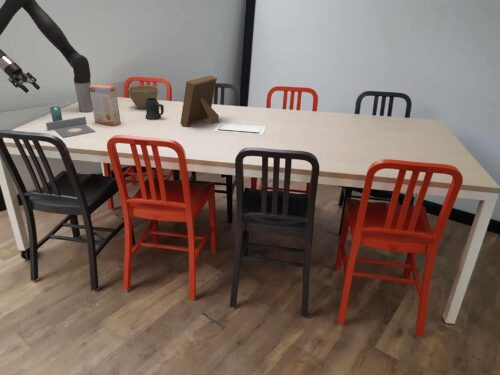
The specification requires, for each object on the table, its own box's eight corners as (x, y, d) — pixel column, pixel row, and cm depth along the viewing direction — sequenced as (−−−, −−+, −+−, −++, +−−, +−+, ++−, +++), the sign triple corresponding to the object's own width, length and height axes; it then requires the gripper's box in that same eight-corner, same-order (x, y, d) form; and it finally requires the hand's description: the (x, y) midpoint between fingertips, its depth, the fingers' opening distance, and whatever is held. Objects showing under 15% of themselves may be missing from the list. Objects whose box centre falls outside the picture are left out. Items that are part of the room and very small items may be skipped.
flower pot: (155, 111, 234) (153, 91, 229) (126, 110, 235) (124, 91, 229) (162, 104, 251) (160, 85, 245) (135, 103, 251) (133, 85, 245)
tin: (61, 121, 212) (58, 105, 208) (64, 123, 208) (61, 107, 204) (52, 123, 209) (48, 107, 205) (54, 125, 205) (51, 109, 201)
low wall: (86, 123, 209) (84, 116, 207) (86, 124, 208) (85, 117, 207) (47, 130, 197) (45, 122, 196) (47, 130, 197) (46, 123, 195)
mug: (142, 118, 220) (140, 99, 215) (152, 115, 227) (150, 96, 222) (158, 121, 215) (157, 102, 210) (168, 117, 223) (166, 98, 218)
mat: (85, 124, 207) (85, 123, 207) (95, 131, 197) (95, 131, 196) (54, 129, 198) (54, 129, 198) (63, 137, 187) (63, 137, 187)
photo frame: (180, 125, 209) (178, 79, 198) (203, 116, 226) (202, 74, 215) (201, 130, 202) (200, 83, 191) (224, 121, 219) (224, 77, 208)
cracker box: (121, 123, 210) (116, 86, 201) (113, 126, 205) (108, 88, 196) (102, 120, 215) (96, 83, 206) (94, 123, 211) (88, 85, 201)
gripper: (2, 63, 191) (27, 88, 194) (22, 60, 204) (45, 83, 207) (-4, 73, 194) (20, 97, 198) (16, 69, 207) (39, 92, 210)
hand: (33, 90), depth 202 cm, fingers open, 8 cm apart
